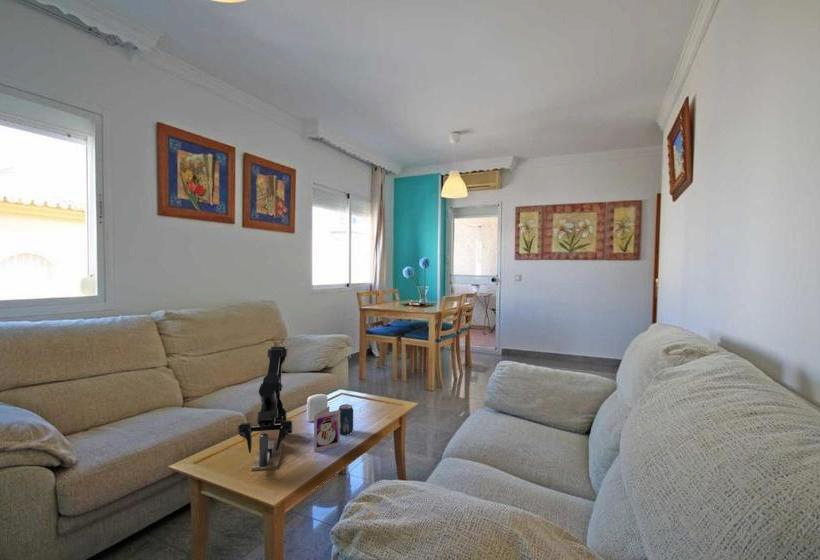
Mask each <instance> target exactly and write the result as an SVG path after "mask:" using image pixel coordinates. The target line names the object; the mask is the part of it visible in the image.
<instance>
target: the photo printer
mask: <svg viewBox="0 0 820 560" xmlns="http://www.w3.org/2000/svg"><path fill="white" fill-rule="evenodd" d="M328 400H329V399H328V395H327V394H324V393H318V394H316V393H315V394H313V395H310V396H308V397H307V400H306V422H314V415H316V414H317V413H319V412H321V411H322V410H324V409H325V408H327V407H328Z"/></svg>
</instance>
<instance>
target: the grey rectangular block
mask: <svg viewBox="0 0 820 560" xmlns="http://www.w3.org/2000/svg"><path fill="white" fill-rule="evenodd" d="M268 449H272V450H271V454H270V457H269V459H271V458H273V456H274V453H275V449H276V439H268Z"/></svg>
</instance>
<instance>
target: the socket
mask: <svg viewBox="0 0 820 560" xmlns="http://www.w3.org/2000/svg"><path fill="white" fill-rule="evenodd" d="M275 425H278V424H275ZM259 432H260V433H259V436H260V435H261V434H268V439H276V446H277V441H278V436H279V430H270V431H259ZM281 445H282V443H281ZM281 445H280V447H281Z"/></svg>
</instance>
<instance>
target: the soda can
mask: <svg viewBox="0 0 820 560" xmlns="http://www.w3.org/2000/svg"><path fill="white" fill-rule="evenodd" d="M338 410H340V434H342V435H341V436H348V435H347V434H349V435H351V434H352V433H353V431H354V408H353V406H352V405H351V404H347V403H346V404H341V405H339V408H338ZM350 433H351V434H350Z"/></svg>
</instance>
